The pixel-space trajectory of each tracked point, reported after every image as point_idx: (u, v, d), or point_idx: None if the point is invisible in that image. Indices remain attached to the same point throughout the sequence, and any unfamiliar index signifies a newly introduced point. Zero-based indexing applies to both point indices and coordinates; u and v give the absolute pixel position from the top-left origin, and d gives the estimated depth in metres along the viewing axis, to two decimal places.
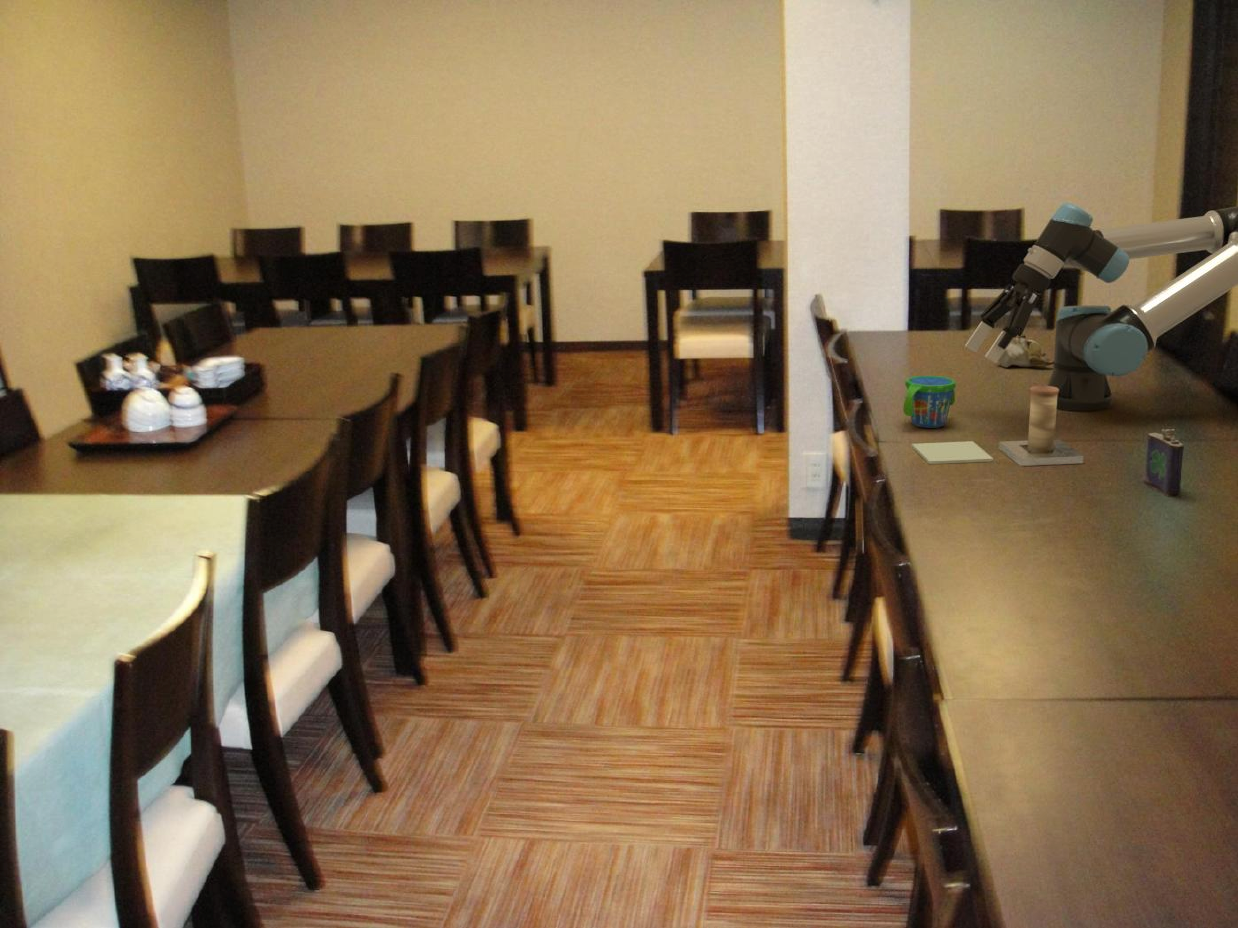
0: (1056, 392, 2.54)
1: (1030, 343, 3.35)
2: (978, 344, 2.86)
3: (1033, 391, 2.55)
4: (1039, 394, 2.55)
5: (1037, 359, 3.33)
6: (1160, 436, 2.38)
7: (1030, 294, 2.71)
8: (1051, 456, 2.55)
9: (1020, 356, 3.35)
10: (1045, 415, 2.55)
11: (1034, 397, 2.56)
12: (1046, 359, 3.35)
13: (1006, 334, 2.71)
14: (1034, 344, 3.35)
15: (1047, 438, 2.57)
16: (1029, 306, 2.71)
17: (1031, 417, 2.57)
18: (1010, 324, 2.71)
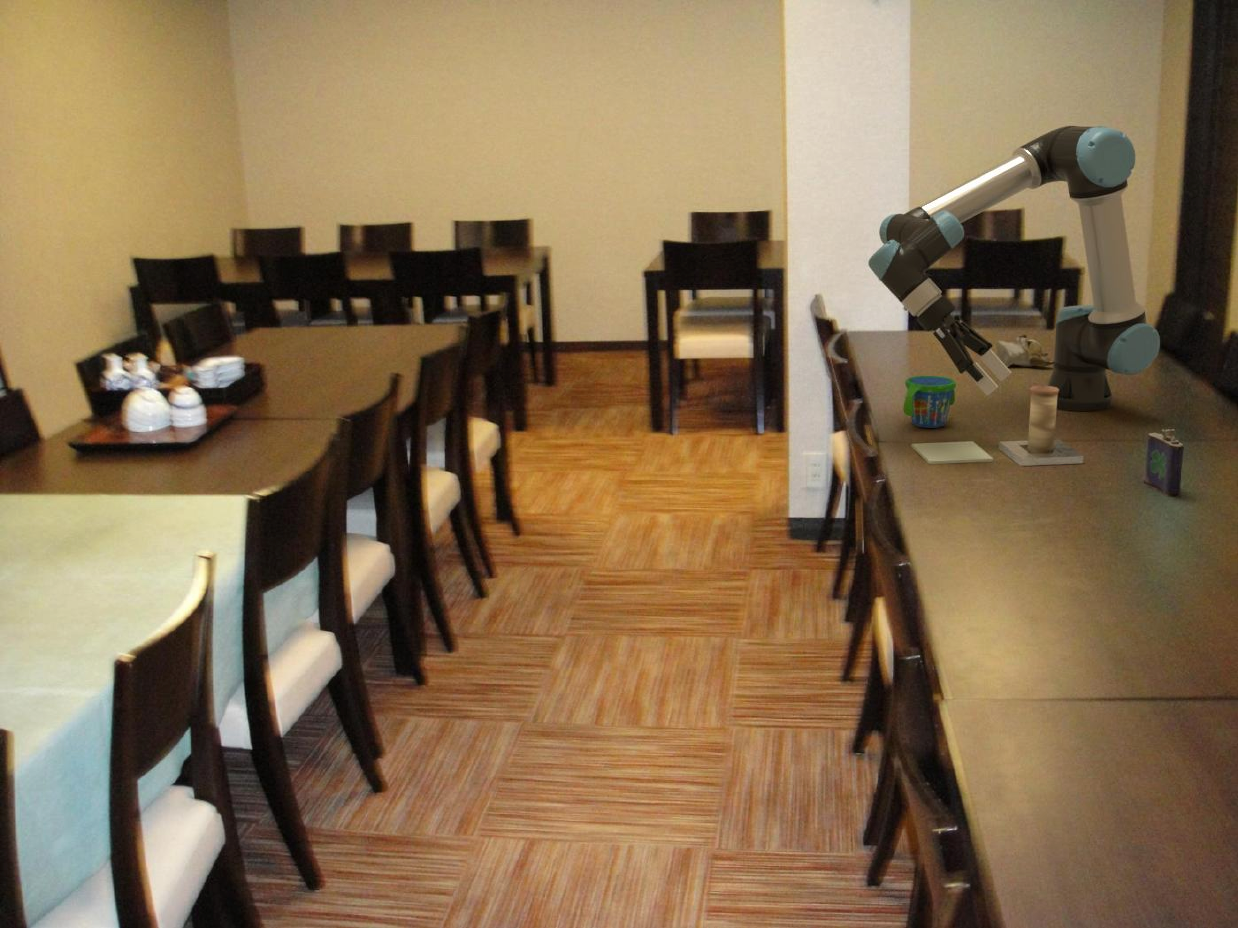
0: (1056, 392, 2.54)
1: (1031, 343, 3.35)
2: (1002, 367, 2.65)
3: (1033, 391, 2.55)
4: (1039, 394, 2.55)
5: (1037, 359, 3.34)
6: (1160, 436, 2.38)
7: (935, 334, 2.56)
8: (1051, 456, 2.55)
9: (1021, 356, 3.35)
10: (1045, 415, 2.55)
11: (1034, 397, 2.56)
12: (1047, 359, 3.35)
13: None
14: (1035, 344, 3.35)
15: (1047, 438, 2.57)
16: (946, 339, 2.55)
17: (1031, 417, 2.57)
18: (959, 363, 2.55)
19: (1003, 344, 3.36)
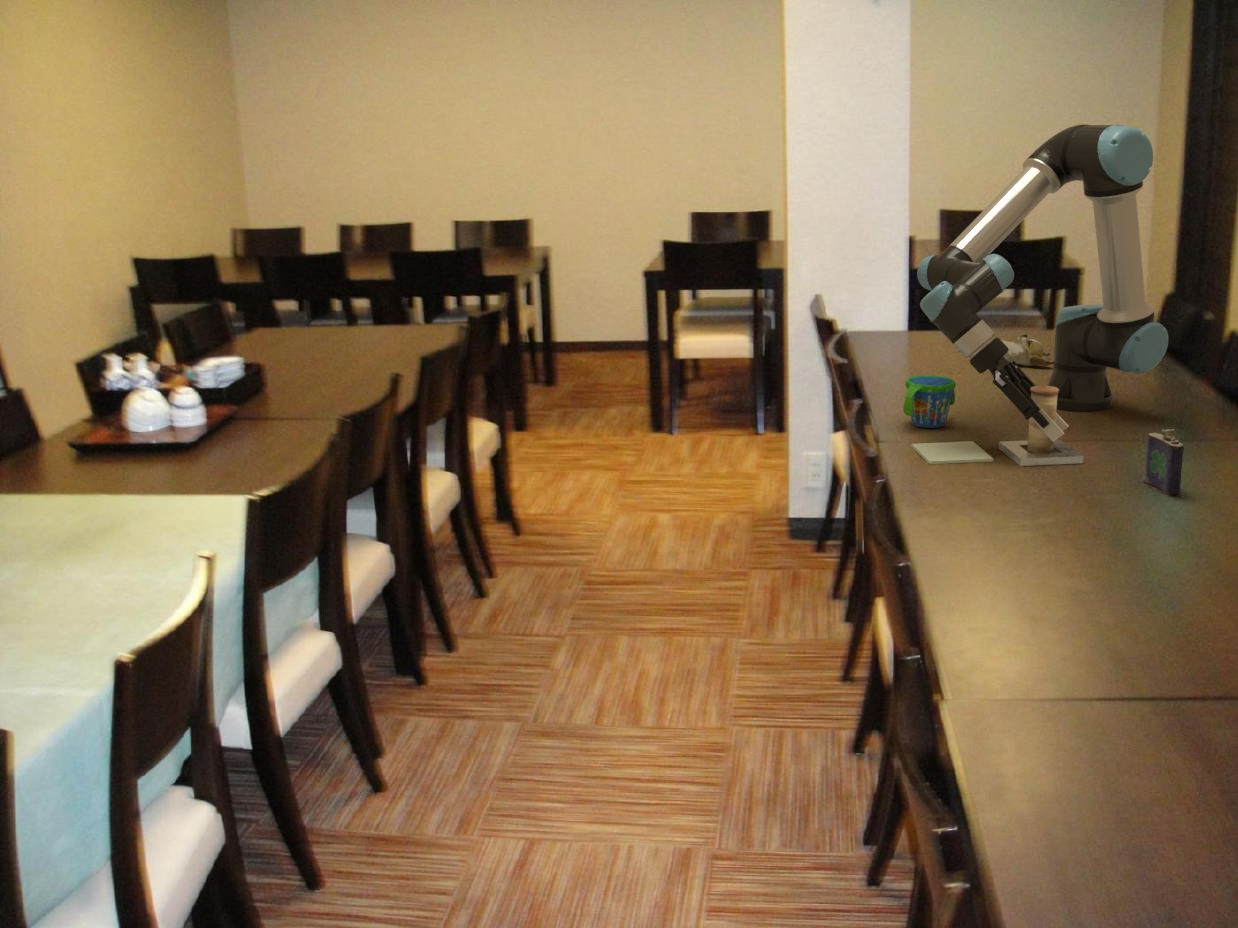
0: (1056, 392, 2.54)
1: (1031, 342, 3.36)
2: (1059, 421, 2.59)
3: (1033, 391, 2.55)
4: (1039, 394, 2.55)
5: (1037, 358, 3.34)
6: (1160, 436, 2.38)
7: (995, 383, 2.54)
8: (1051, 456, 2.55)
9: (1021, 355, 3.36)
10: None
11: (1034, 397, 2.56)
12: (1047, 359, 3.36)
13: None
14: (1035, 343, 3.36)
15: (1047, 438, 2.57)
16: (1008, 387, 2.53)
17: None
18: (1024, 410, 2.55)
19: None
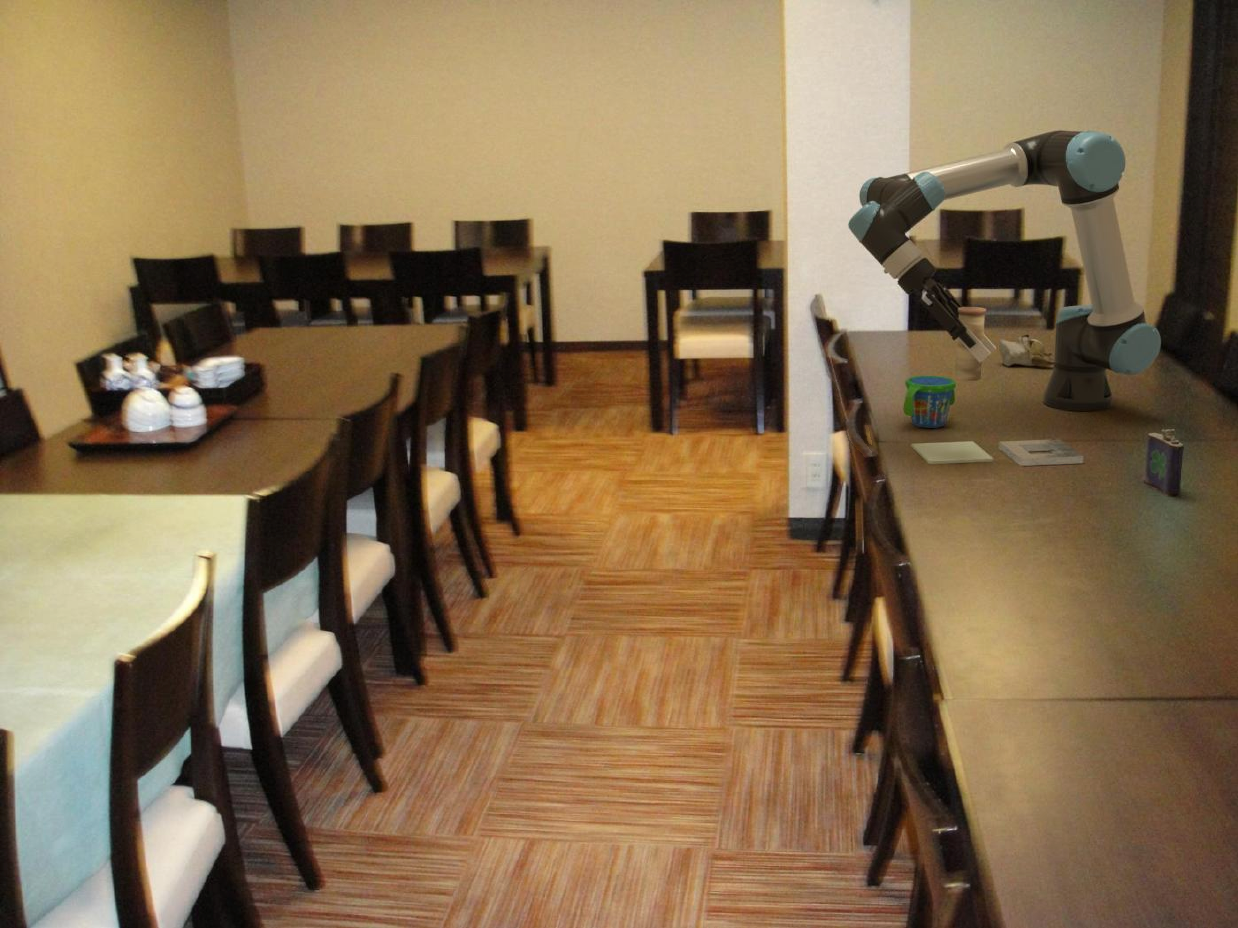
0: (983, 312, 2.52)
1: (1033, 342, 3.36)
2: (987, 343, 2.57)
3: (960, 311, 2.53)
4: (966, 314, 2.52)
5: (1039, 358, 3.34)
6: (1160, 436, 2.38)
7: (922, 302, 2.51)
8: (1051, 456, 2.55)
9: (1022, 355, 3.36)
10: None
11: (961, 317, 2.53)
12: (1049, 359, 3.36)
13: None
14: (1037, 343, 3.36)
15: (974, 359, 2.54)
16: (934, 306, 2.51)
17: None
18: None
19: (1005, 343, 3.37)
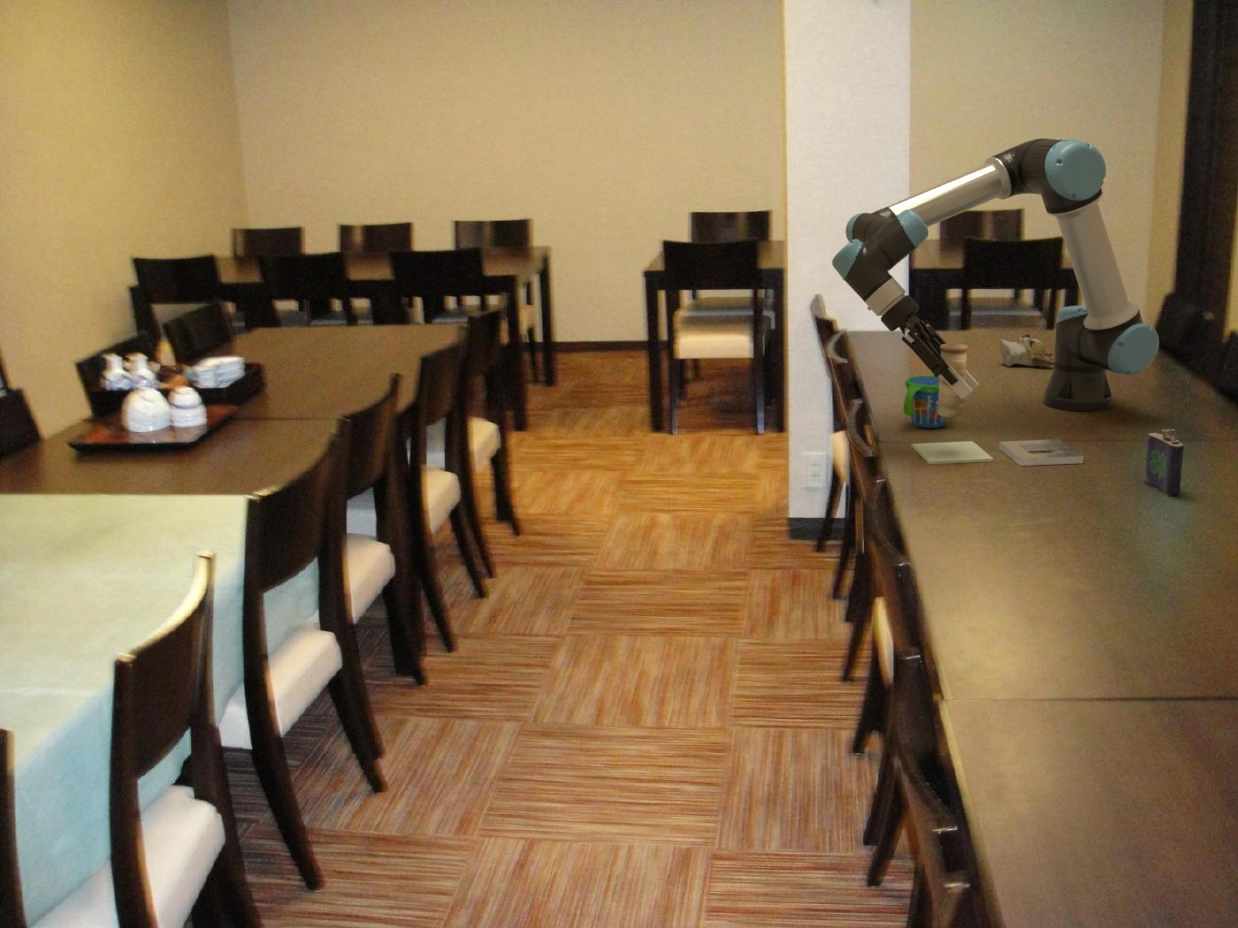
0: (965, 349, 2.55)
1: (1033, 342, 3.36)
2: (969, 379, 2.60)
3: (942, 348, 2.56)
4: (947, 351, 2.55)
5: (1039, 358, 3.34)
6: (1160, 436, 2.38)
7: (904, 340, 2.54)
8: (1051, 456, 2.55)
9: (1023, 356, 3.36)
10: None
11: (943, 354, 2.56)
12: (1049, 359, 3.35)
13: None
14: (1037, 343, 3.36)
15: (956, 395, 2.57)
16: (916, 344, 2.54)
17: None
18: (933, 367, 2.56)
19: (1005, 343, 3.37)
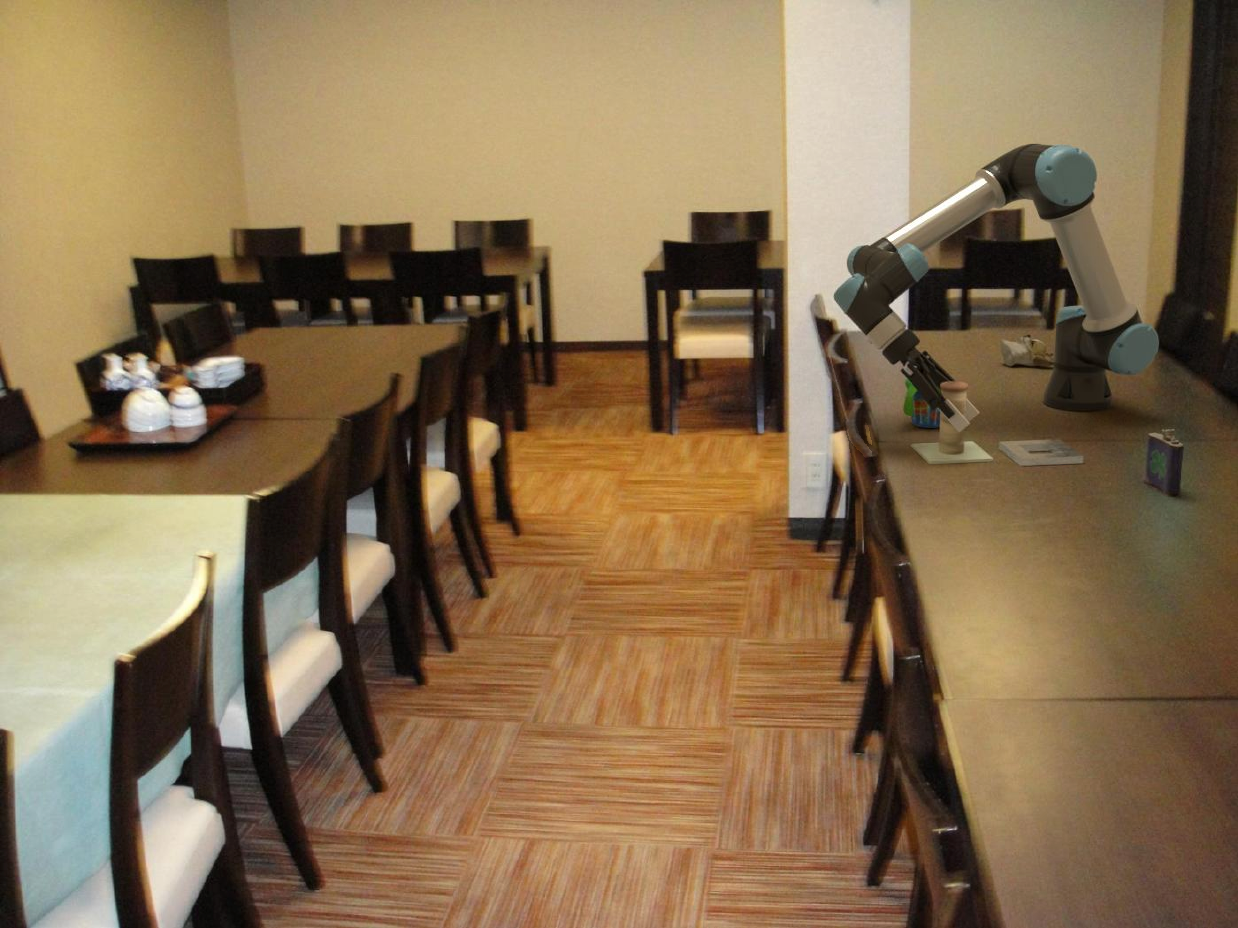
0: (965, 388, 2.57)
1: (1034, 342, 3.36)
2: (970, 408, 2.63)
3: (942, 387, 2.58)
4: (948, 390, 2.57)
5: (1040, 358, 3.34)
6: (1160, 436, 2.38)
7: (903, 372, 2.56)
8: (1051, 456, 2.55)
9: (1024, 356, 3.36)
10: None
11: (943, 393, 2.59)
12: (1050, 359, 3.35)
13: None
14: (1038, 343, 3.35)
15: (957, 433, 2.59)
16: (915, 377, 2.56)
17: (941, 413, 2.60)
18: (930, 400, 2.57)
19: (1007, 343, 3.37)
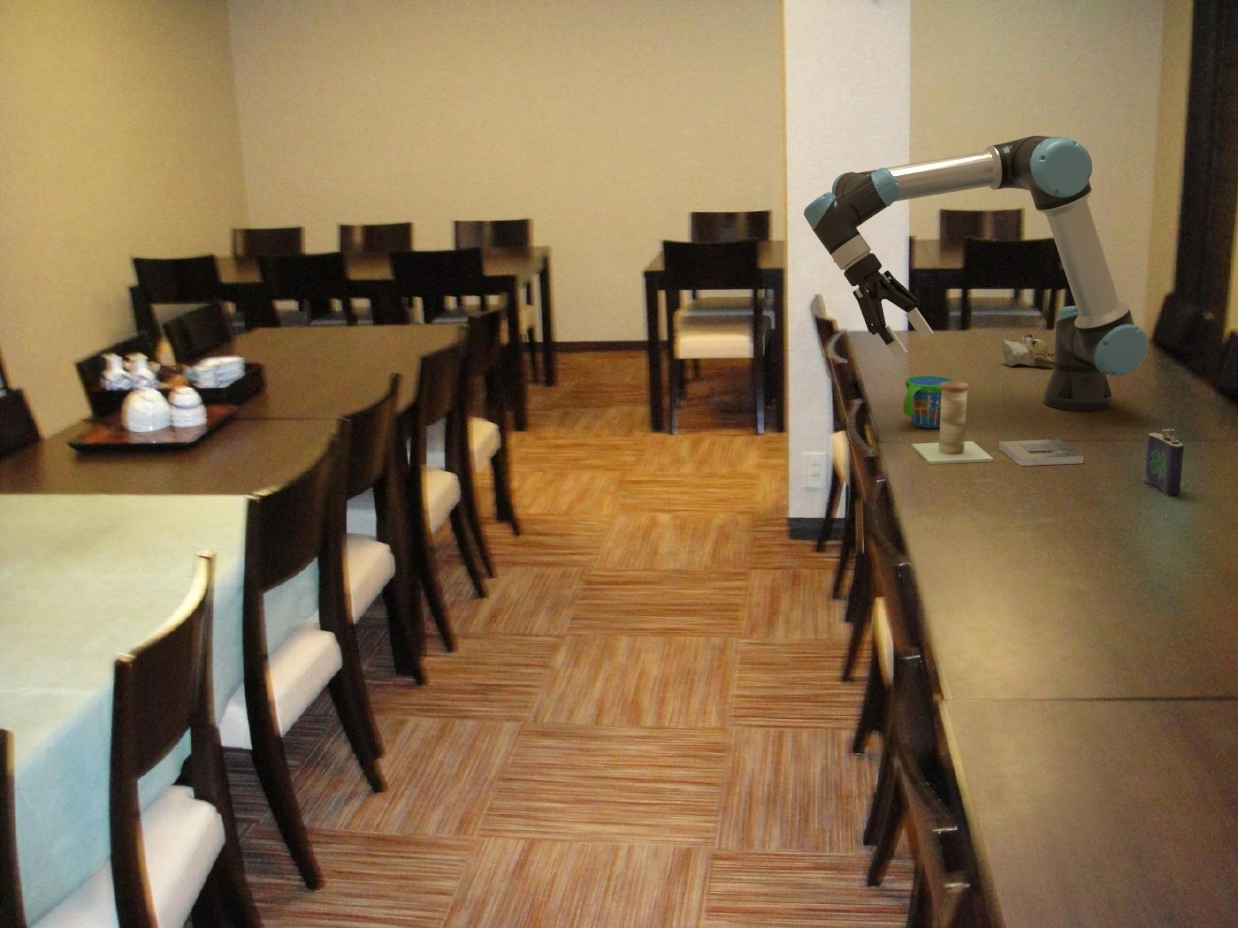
0: (965, 388, 2.57)
1: (1036, 342, 3.36)
2: (925, 327, 2.71)
3: (943, 387, 2.58)
4: (948, 389, 2.57)
5: (1042, 358, 3.34)
6: (1160, 436, 2.38)
7: (854, 293, 2.63)
8: (1051, 456, 2.55)
9: (1025, 356, 3.36)
10: (955, 410, 2.58)
11: (943, 393, 2.59)
12: (1052, 359, 3.35)
13: None
14: (1040, 343, 3.35)
15: (957, 433, 2.60)
16: (863, 300, 2.61)
17: (942, 412, 2.60)
18: (873, 324, 2.62)
19: (1008, 343, 3.37)
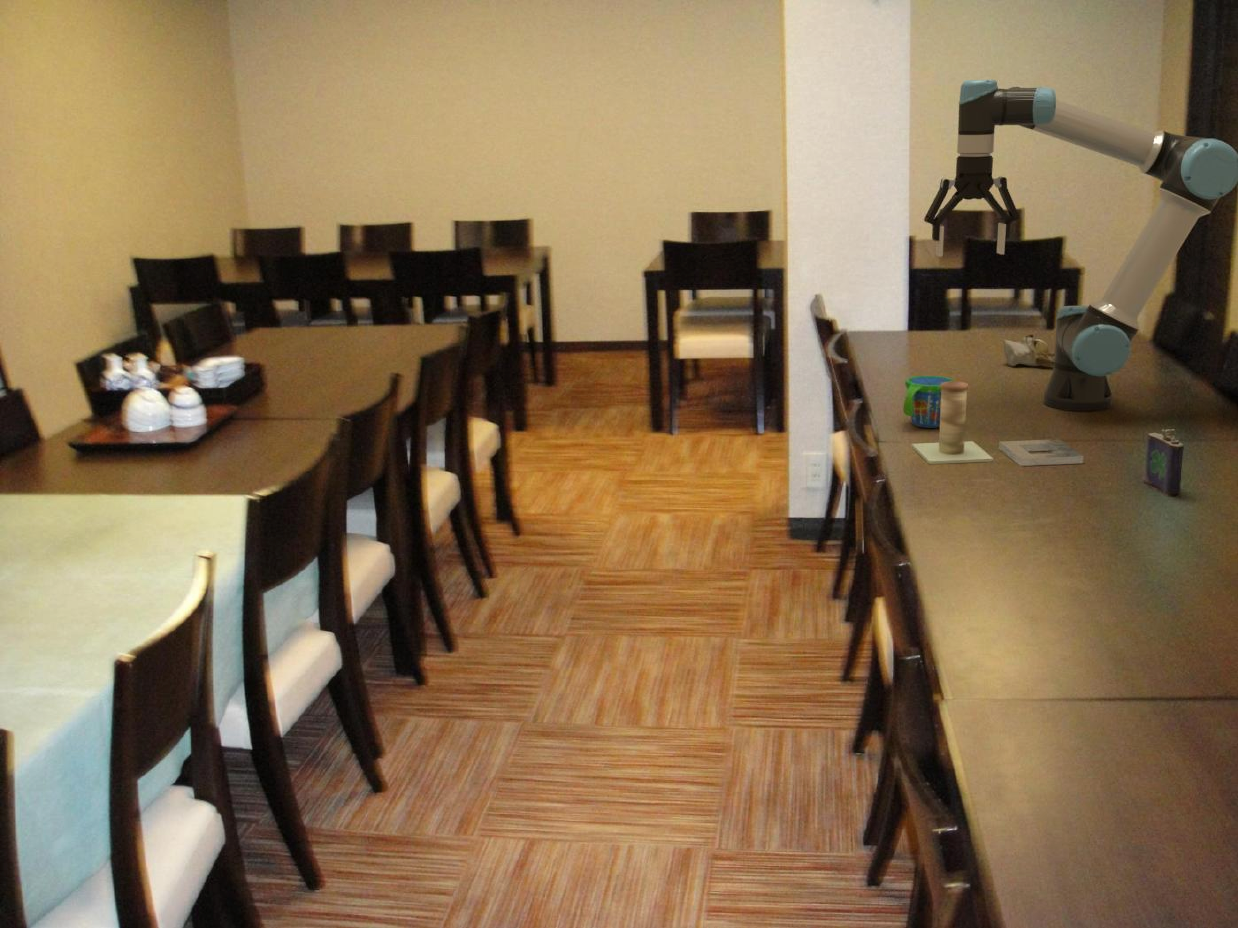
0: (965, 388, 2.57)
1: (1037, 342, 3.35)
2: (1000, 245, 2.79)
3: (942, 387, 2.58)
4: (948, 389, 2.57)
5: (1043, 358, 3.34)
6: (1160, 436, 2.38)
7: (941, 181, 2.76)
8: (1051, 456, 2.55)
9: (1026, 356, 3.36)
10: (955, 410, 2.58)
11: (943, 393, 2.59)
12: (1053, 359, 3.35)
13: None
14: (1041, 344, 3.35)
15: (957, 433, 2.60)
16: (940, 192, 2.76)
17: (941, 412, 2.60)
18: (936, 216, 2.78)
19: (1009, 343, 3.37)
